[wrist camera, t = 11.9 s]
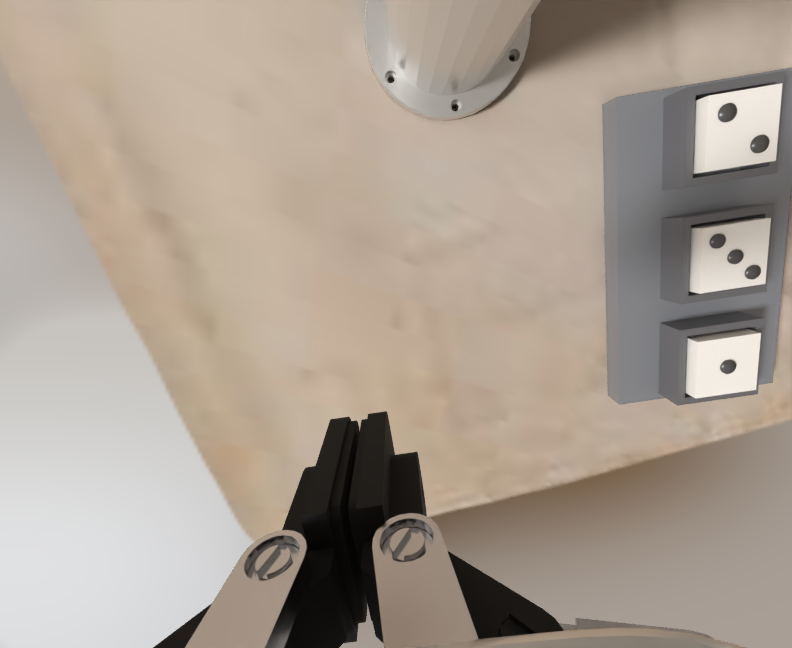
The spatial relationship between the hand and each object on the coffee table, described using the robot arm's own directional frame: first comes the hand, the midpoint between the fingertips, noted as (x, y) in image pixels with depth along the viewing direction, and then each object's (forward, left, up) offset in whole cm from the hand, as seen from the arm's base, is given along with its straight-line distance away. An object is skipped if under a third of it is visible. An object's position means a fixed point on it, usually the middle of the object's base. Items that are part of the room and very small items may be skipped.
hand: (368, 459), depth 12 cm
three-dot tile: (0, +27, -23) cm, 35 cm away
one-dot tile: (+9, +27, -23) cm, 36 cm away
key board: (0, +27, -25) cm, 37 cm away
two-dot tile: (-9, +27, -23) cm, 36 cm away
